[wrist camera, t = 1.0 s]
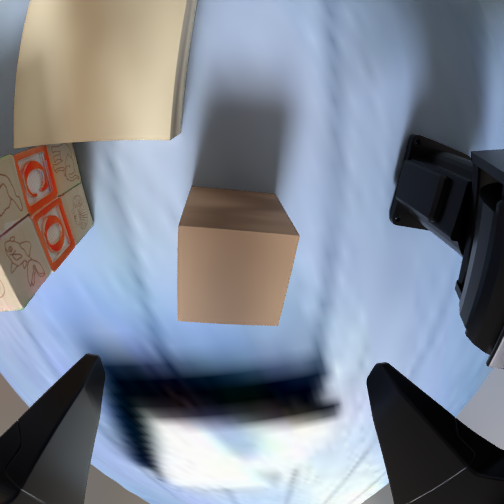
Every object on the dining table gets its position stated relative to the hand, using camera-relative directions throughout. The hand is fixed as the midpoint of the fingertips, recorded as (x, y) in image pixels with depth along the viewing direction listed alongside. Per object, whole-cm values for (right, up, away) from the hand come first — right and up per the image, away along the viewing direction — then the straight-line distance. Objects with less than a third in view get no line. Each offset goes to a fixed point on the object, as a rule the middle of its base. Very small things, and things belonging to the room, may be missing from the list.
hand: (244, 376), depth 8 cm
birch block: (-8, +15, +4) cm, 17 cm away
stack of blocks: (-21, +7, +7) cm, 23 cm away
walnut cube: (-1, +5, +10) cm, 11 cm away
